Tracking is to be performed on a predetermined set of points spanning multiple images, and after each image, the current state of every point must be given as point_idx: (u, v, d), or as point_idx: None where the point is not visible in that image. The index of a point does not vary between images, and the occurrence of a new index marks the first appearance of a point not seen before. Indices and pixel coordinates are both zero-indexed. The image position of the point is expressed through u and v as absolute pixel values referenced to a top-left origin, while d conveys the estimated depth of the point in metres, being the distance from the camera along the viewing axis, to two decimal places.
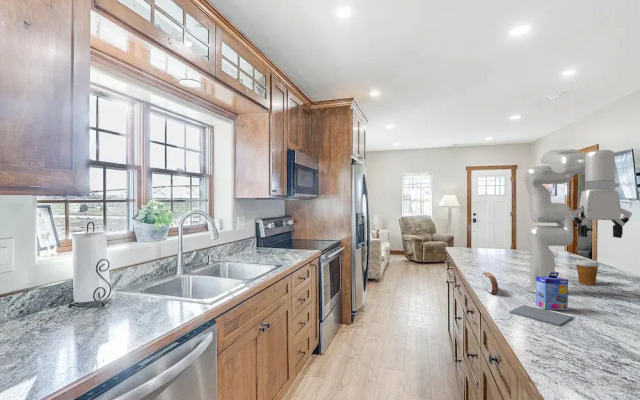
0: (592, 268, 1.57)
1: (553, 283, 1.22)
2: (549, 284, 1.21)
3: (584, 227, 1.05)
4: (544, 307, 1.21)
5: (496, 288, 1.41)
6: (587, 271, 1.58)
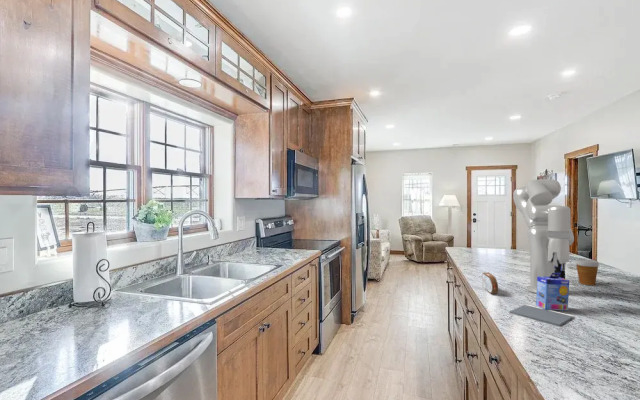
0: (592, 268, 1.57)
1: (554, 284, 1.21)
2: (550, 285, 1.21)
3: (562, 272, 1.26)
4: (544, 307, 1.21)
5: (496, 288, 1.41)
6: (587, 271, 1.58)
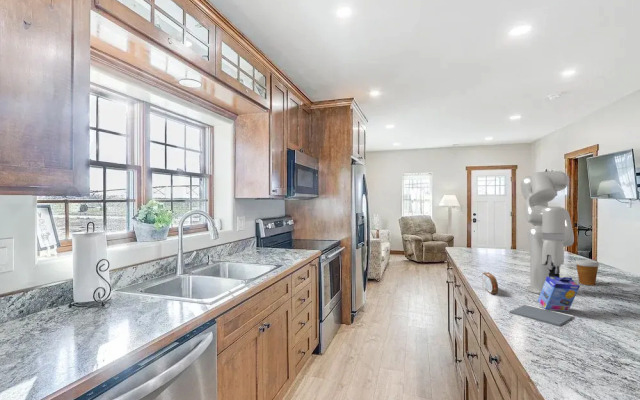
0: (592, 268, 1.57)
1: (562, 288, 1.17)
2: (558, 288, 1.18)
3: (557, 275, 1.23)
4: (545, 307, 1.21)
5: (496, 288, 1.41)
6: (587, 271, 1.58)
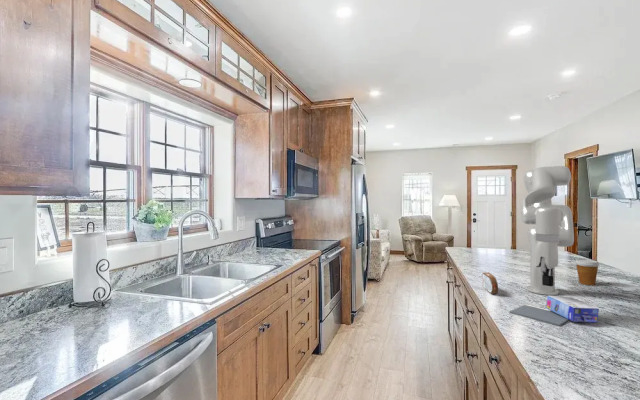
0: (592, 268, 1.57)
1: None
2: None
3: (550, 277, 1.20)
4: (547, 307, 1.20)
5: (496, 288, 1.41)
6: (587, 271, 1.58)
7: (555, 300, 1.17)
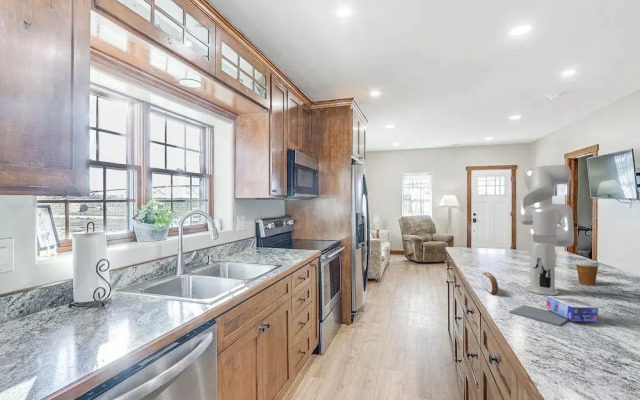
0: (592, 268, 1.57)
1: None
2: None
3: (548, 279, 1.18)
4: (546, 308, 1.20)
5: (496, 288, 1.41)
6: (587, 271, 1.58)
7: (554, 300, 1.17)
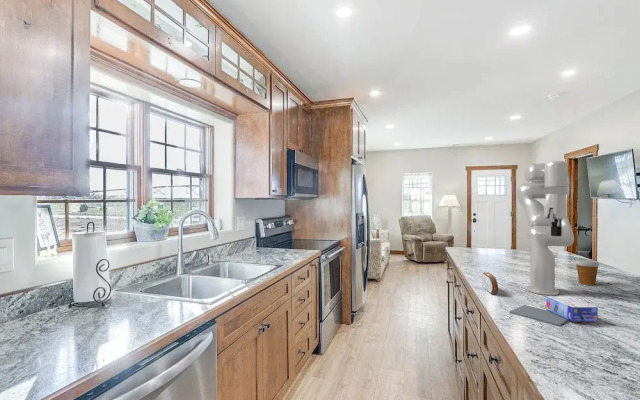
0: (592, 268, 1.57)
1: None
2: None
3: (559, 228, 1.25)
4: (546, 308, 1.20)
5: (496, 288, 1.41)
6: (587, 271, 1.58)
7: (554, 301, 1.17)
